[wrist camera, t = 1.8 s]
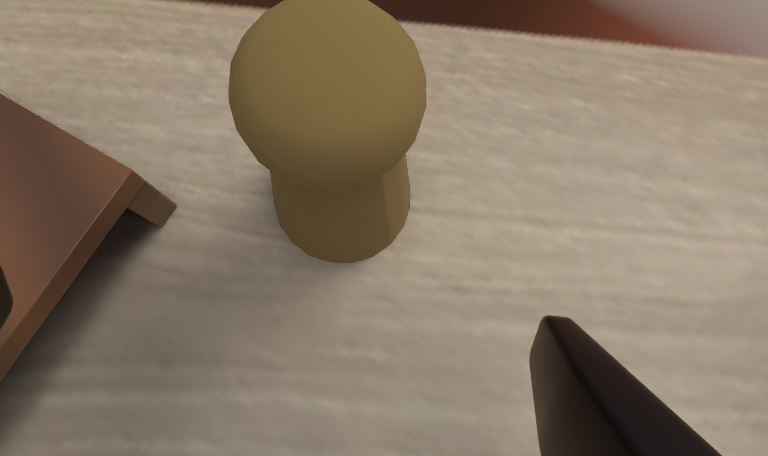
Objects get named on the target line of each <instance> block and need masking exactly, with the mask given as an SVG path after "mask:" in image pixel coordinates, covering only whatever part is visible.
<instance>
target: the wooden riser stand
mask: <svg viewBox="0 0 768 456" xmlns="http://www.w3.org/2000/svg"><path fill="white" fill-rule="evenodd" d="M175 207H176V204H175V203H174V202H172V201H171V200H170V199H169V198H167V197H166V196H165V195H163V194H162V193H161V192H160V191H158V190H157V189H156V188H154V187H153V186H152V185H151V184H149V183H148V182H147V181H145V180H144V179H143V178H142V177H140V176H139V175H138V174H137V173H135V172H134V171H133V170H131V169H130V168H128V167H126V166H124V165H123V164H121V163H119V162H117V161H116V160H114V159H112V158H110V157H109V156H107V155H105V154H104V153H102V152H100V151H98V150H97V149H95V148H93V147H91V146H90V145H88V144H86V143H84V142H83V141H81V140H79V139H78V138H76V137H74V136H72V135H71V134H69V133H67V132H65V131H64V130H62V129H60V128H58V127H57V126H55V125H53V124H52V123H50V122H48V121H46V120H45V119H43V118H41V117H39V116H38V115H36V114H34V113H32V112H31V111H29V110H27V109H26V108H24V107H22V106H20V105H19V104H17V103H15V102H13V101H12V100H10V99H8V98H6V97H5V96H3V95H1V94H0V265H1V267H2V269H3V272H4V275H5V278H6V280H7V283H8V286H9V289H10V291H11V294H12V297H13V308H12V311H11V313H10V315H9V317H8V319H7V320H6V322H5V324H4V325H3V327H2V329H1V330H0V381H1V380H2V378H3V377H4V376H5V374H6V373H7V371H8V370H9V369H10V367H11V366H12V365H13V363H14V362H15V360H16V359H17V358H18V356H19V355H20V354H21V352H22V351H23V349H24V348H25V347H26V345H27V344H28V343H29V341H30V340H31V338H32V337H33V336H34V334H35V333H36V332H37V330H38V329H39V327H40V326H41V325H42V323H43V322H44V321H45V319H46V318H47V316H48V315H49V314H50V312H51V311H52V310H53V308H54V307H55V305H56V304H57V303H58V301H59V300H60V299H61V297H62V296H63V294H64V293H65V292H66V290H67V289H68V288H69V286H70V285H71V283H72V282H73V281H74V279H75V278H76V277H77V275H78V274H79V272H80V271H81V270H82V268H83V267H84V266H85V264H86V263H87V261H88V260H89V259H90V257H91V256H92V255H93V253H94V252H95V250H96V249H97V248H98V246H99V245H100V244H101V242H102V241H103V239H104V238H105V237H106V235H107V234H108V233H109V231H110V230H111V228H112V227H113V226H114V224H115V223H116V222H117V220H118V219H119V217H120V216H121V215H122V213H123V212H124V211H125V209H126V208H127V209H129V210H131V211H133V212H134V213H136V214H138V215H139V216H141V217H143V218H145V219H146V220H148V221H150V222H151V223H153V224H155V225H156V226H158V227H162V226H163V225H164V223H165V222H166V220H167V219H168V217H169V216H170V215H171V213H172V212H173V210H174V209H175Z"/></svg>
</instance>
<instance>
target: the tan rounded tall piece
mask: <svg viewBox="0 0 768 456" xmlns="http://www.w3.org/2000/svg"><path fill="white" fill-rule="evenodd" d="M229 104H230V107H231V111H232V114H233V118H234V122H235V125H236V129H237V131H238V132H239V134H240V136H241V137H242V139H243V140H244V142H245V143H246V144H247V146H248V147H249V149H250V150H251V152H252V153H253V154H254V156H255V157H256V159H257V160H258V162H260V163H261V164H262V165H264V166H265V167H266V168H268V169H269V170H270V173H271V181H272V188H273V195H274V203H275V208H276V211H277V215H278V218H279V222H280V225H281V227H282V228H283V229H284V231H285V232H286V234H287V235H288V237H289V238H290V240H291V241H292V242H293V243H294V244H295V245H297V246H298V247H299V248H301V249H302V250H303V251H305V252H306V253H307V254H309V255H311V256H314V257H317V258H320V259H323V260H326V261H329V262H355V261H358V260H361V259H365V258H368V257H371V256H374V255H375V254H377V253H378V252H379V251H381V250H382V249H384V248H385V247H387V246H388V245H389V244H391V243H392V241H393V240H394V239H395V237H396V236H397V235H398V233H399V232H400V231H401V229H402V228H403V226H404V223H405V220H406V217H407V214H408V211H409V208H410V185H409V178H408V170H407V162H406V155H405V153H406V152H407V151H408V150H409V148H410V147H411V146H412V144H413V143H414V142H415V139H416V136H417V133H418V130H419V127H420V124H421V121H422V118H423V115H424V112H425V108H426V77H425V72H424V68H423V65H422V62H421V60H420V57H419V54H418V52H417V49H416V46H415V44H414V41H413V40H412V39H411V38H410V36H409V35H408V34H407V33H406V31H405V30H404V29H403V28H402V27H401V25H400V24H399V23H398V22H397V20H395V19H394V18H393V17H392V16H390V15H389V14H388V13H386V12H385V11H383V10H382V9H380V8H378V7H377V6H375V5H374V4H372V3H371V2H370V1H368V0H284V1H283V2H281V3H279V4H278V5H276V6H274V7H272V8H270V9H269V10H267V11H265V13H264V14H263V15H262V16H261V17H260V18H259V19H258V20H257V21H256V22H255V23H254V24H253V25H252V26H251V28H250V29H249V30H248V31H247V32H246V33H245V35H244V36H243V37H242V39H241V41H240V44H239V46H238V48H237V50H236V52H235V55H234V57H233V59H232V61H231V67H230V79H229Z"/></svg>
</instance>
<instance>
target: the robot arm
mask: <svg viewBox="0 0 768 456" xmlns="http://www.w3.org/2000/svg"><path fill="white" fill-rule="evenodd" d="M12 308H13V297H12V294H11V291H10V289H9V286H8V283H7V280H6V278H5V275H4V272H3V269H2V267H1V265H0V330H1V329H2V327H3V325H4V324H5V322H6V320H7V319H8V317H9V315H10V313H11V311H12ZM530 372H531V381H532V389H533V398H534V406H535V415H536V423H537V432H538V440H539V447H540V452H541V456H722V455H721V454H720V453H718V452H717V451H716V450H715V449H714V448H713V447H712V446H711V445H710V444H708V443H707V442H706V441H705V440H704V439H703V438H702V437H701V436H700V435H699V434H697V433H696V432H695V431H694V430H693V429H692V428H691V427H690V426H689V425H687V424H686V423H685V422H684V421H683V420H682V419H681V418H680V417H679V416H678V415H676V414H675V413H674V412H673V411H672V410H671V409H670V408H669V407H668V406H667V405H665V404H664V403H663V402H662V401H661V400H660V399H659V398H658V397H657V396H655V395H654V394H653V393H652V392H651V391H650V390H649V389H648V388H647V387H646V386H644V385H643V384H642V383H641V382H640V381H639V380H638V379H637V378H636V377H634V376H633V375H632V374H631V373H630V372H629V371H628V370H627V369H626V368H625V367H623V366H622V365H621V364H620V363H619V362H618V361H617V360H616V359H615V358H614V357H612V356H611V355H610V354H609V353H608V352H607V351H606V350H605V349H604V348H602V347H601V346H600V345H599V344H598V343H597V342H596V341H595V340H594V339H593V338H591V337H590V336H589V335H588V334H587V333H586V332H585V331H584V330H583V329H581V328H580V327H579V326H578V325H577V324H576V323H575V322H574V321H573V320H571V319H570V318H567V317H560V316H550V315H547V316H545V317H543V319H542V320H541V322H540V325H539V328H538V331H537V333H536V336H535V339H534V342H533V345H532V348H531V351H530Z"/></svg>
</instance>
